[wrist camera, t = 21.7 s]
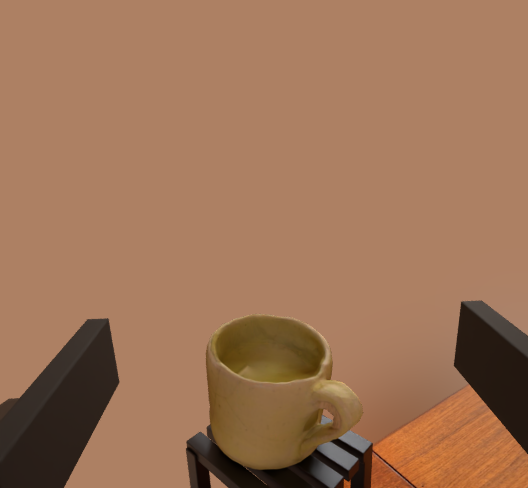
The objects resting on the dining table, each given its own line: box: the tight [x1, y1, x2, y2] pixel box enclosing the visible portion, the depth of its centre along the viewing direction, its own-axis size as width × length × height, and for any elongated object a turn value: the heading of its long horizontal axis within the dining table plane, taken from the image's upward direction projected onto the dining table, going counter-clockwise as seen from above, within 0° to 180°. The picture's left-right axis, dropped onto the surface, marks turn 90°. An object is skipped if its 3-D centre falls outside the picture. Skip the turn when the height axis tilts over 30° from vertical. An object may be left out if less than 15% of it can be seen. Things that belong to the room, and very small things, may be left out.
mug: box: [206, 314, 363, 470], centre depth 29 cm, size 12×10×10 cm
